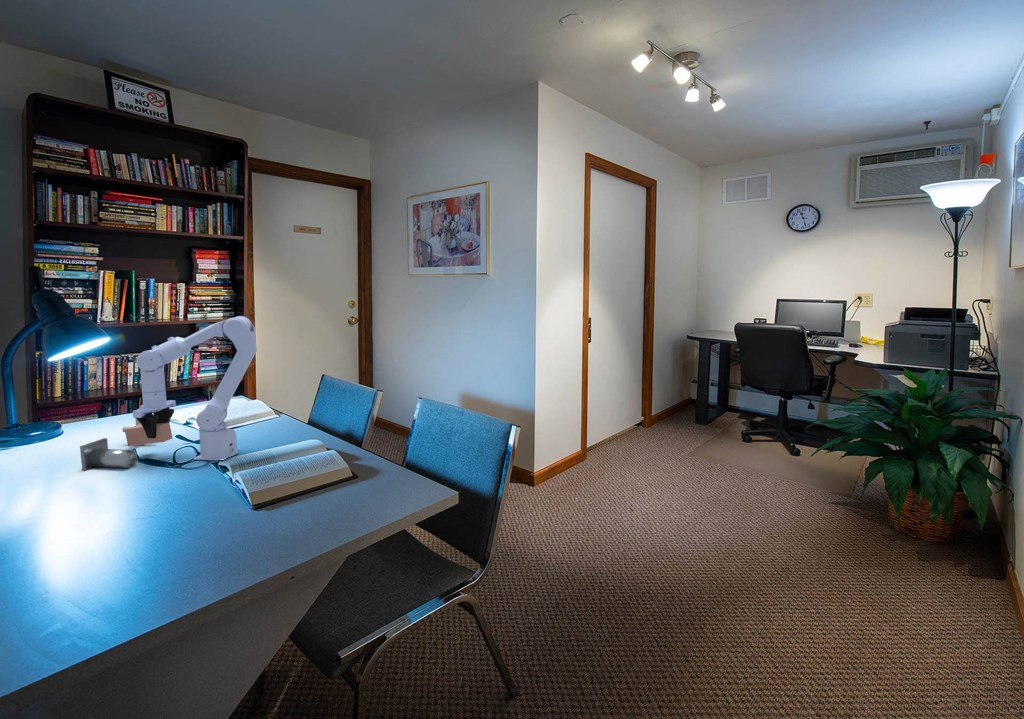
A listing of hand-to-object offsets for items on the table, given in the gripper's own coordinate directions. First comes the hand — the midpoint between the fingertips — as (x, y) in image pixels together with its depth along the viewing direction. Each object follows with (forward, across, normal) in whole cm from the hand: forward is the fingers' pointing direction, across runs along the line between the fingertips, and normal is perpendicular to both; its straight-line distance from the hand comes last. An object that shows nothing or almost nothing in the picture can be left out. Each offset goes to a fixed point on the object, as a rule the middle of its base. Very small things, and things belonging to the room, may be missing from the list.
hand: (157, 435), depth 155 cm
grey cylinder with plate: (+7, +7, -8) cm, 13 cm away
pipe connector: (+8, -13, -16) cm, 22 cm away
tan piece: (+2, -2, -2) cm, 4 cm away
